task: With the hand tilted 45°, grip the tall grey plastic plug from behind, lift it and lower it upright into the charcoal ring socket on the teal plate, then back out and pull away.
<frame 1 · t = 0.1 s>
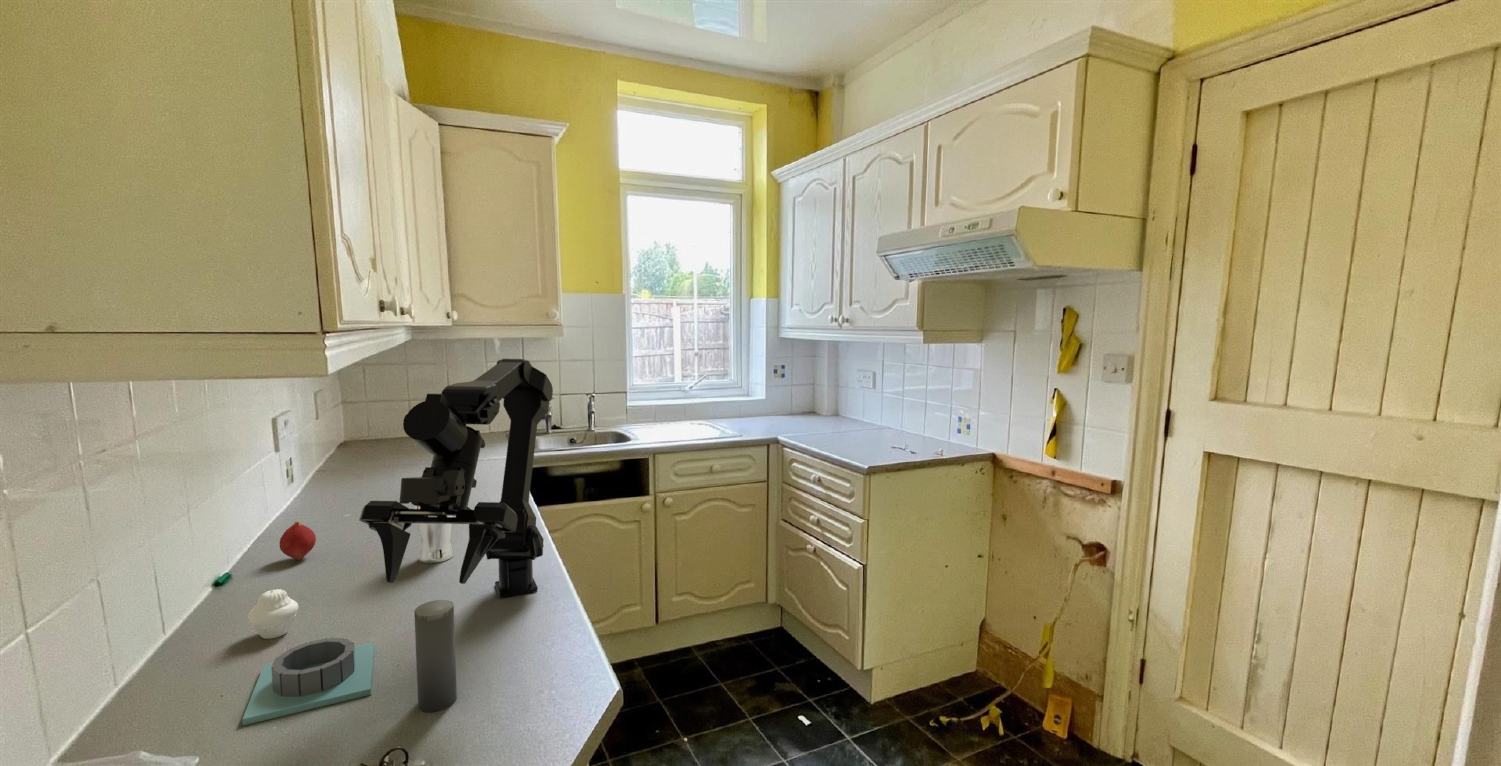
hand: (426, 582, 79), 15 cm above the table, tool tilted 35°, fingers open, 9 cm apart
beer glass: (436, 558, 124), on the table
onion: (298, 560, 122), on the table
plug: (437, 701, 78), on the table
socket: (315, 682, 82), on the table
muffin: (275, 634, 94), on the table
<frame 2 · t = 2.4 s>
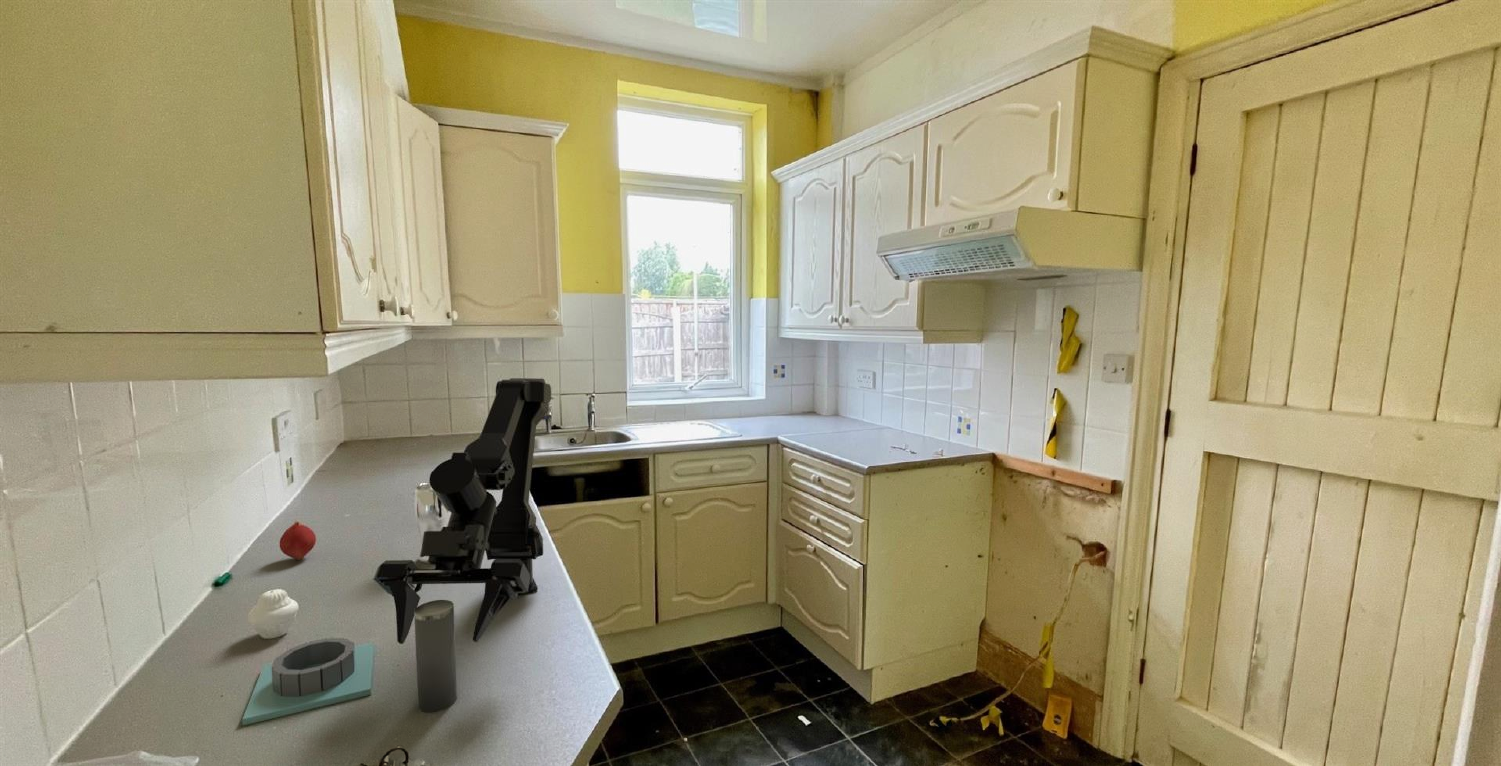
hand: (437, 641, 78), 8 cm above the table, tool tilted 45°, fingers open, 9 cm apart
nothing on the table moved.
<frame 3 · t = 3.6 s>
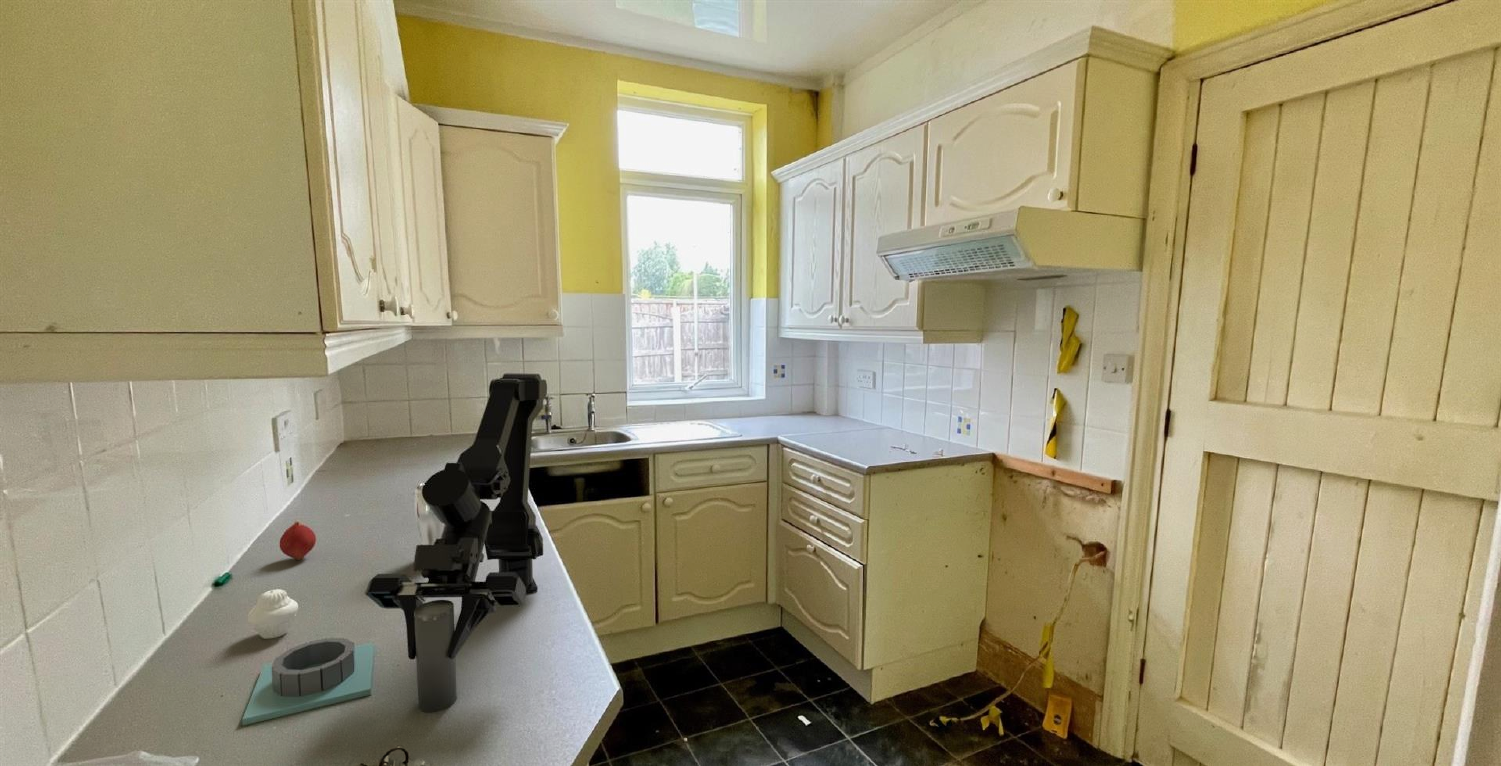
hand: (431, 658, 76), 7 cm above the table, tool tilted 45°, fingers closed on plug, 4 cm apart
plug: (437, 701, 78), on the table, touching gripper
everything else where it was.
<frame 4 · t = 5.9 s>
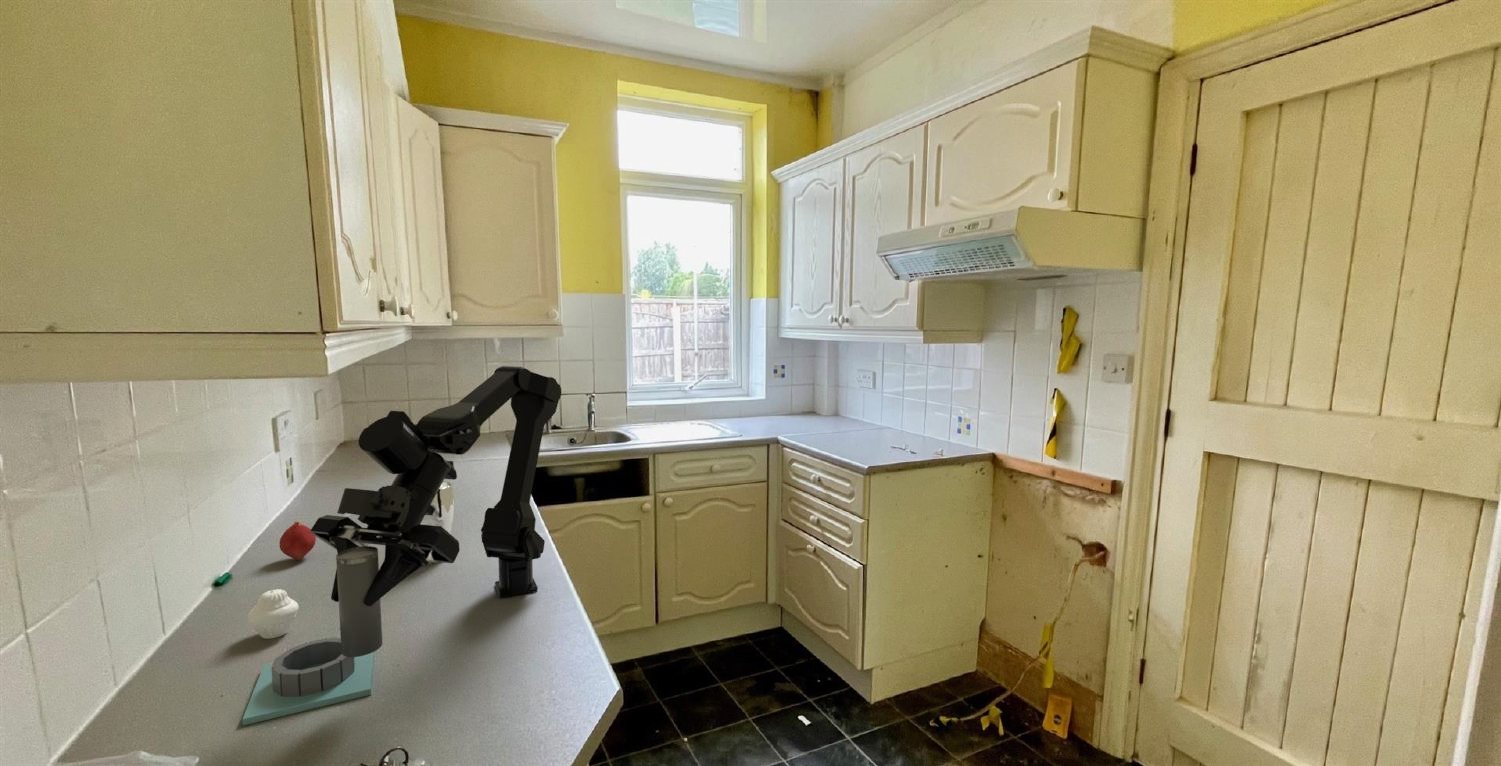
hand: (350, 602, 76), 13 cm above the table, tool tilted 45°, fingers closed on plug, 4 cm apart
plug: (362, 647, 78), point 7 cm above the table, touching gripper
everything else where it was.
when the fingers open (9 cm above the table, at t = 8.2 s): plug drops 1 cm, resting on socket.
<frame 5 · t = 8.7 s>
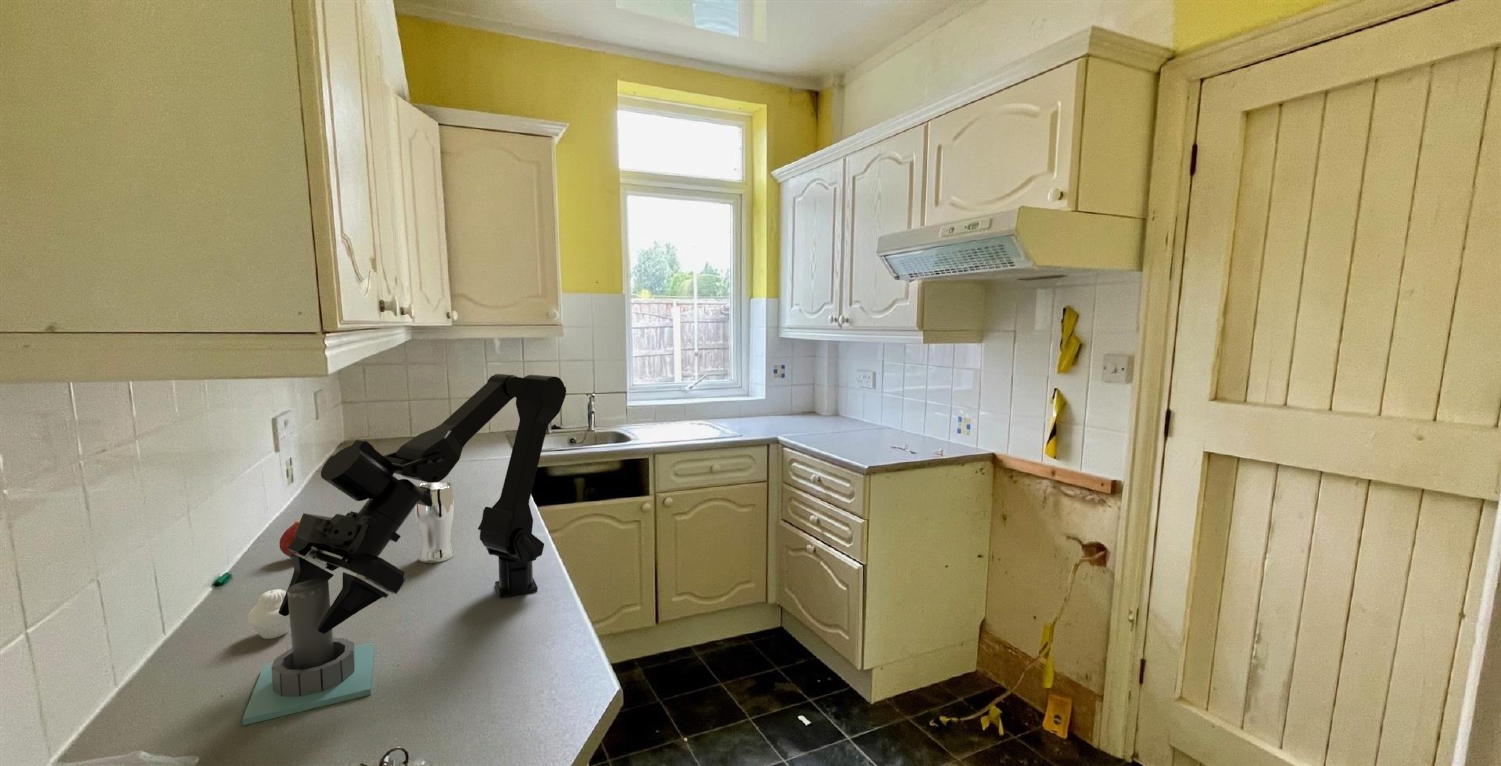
hand: (300, 623, 80), 9 cm above the table, tool tilted 45°, fingers open, 9 cm apart
plug: (315, 675, 82), point 1 cm above the table, touching socket
everything else where it was.
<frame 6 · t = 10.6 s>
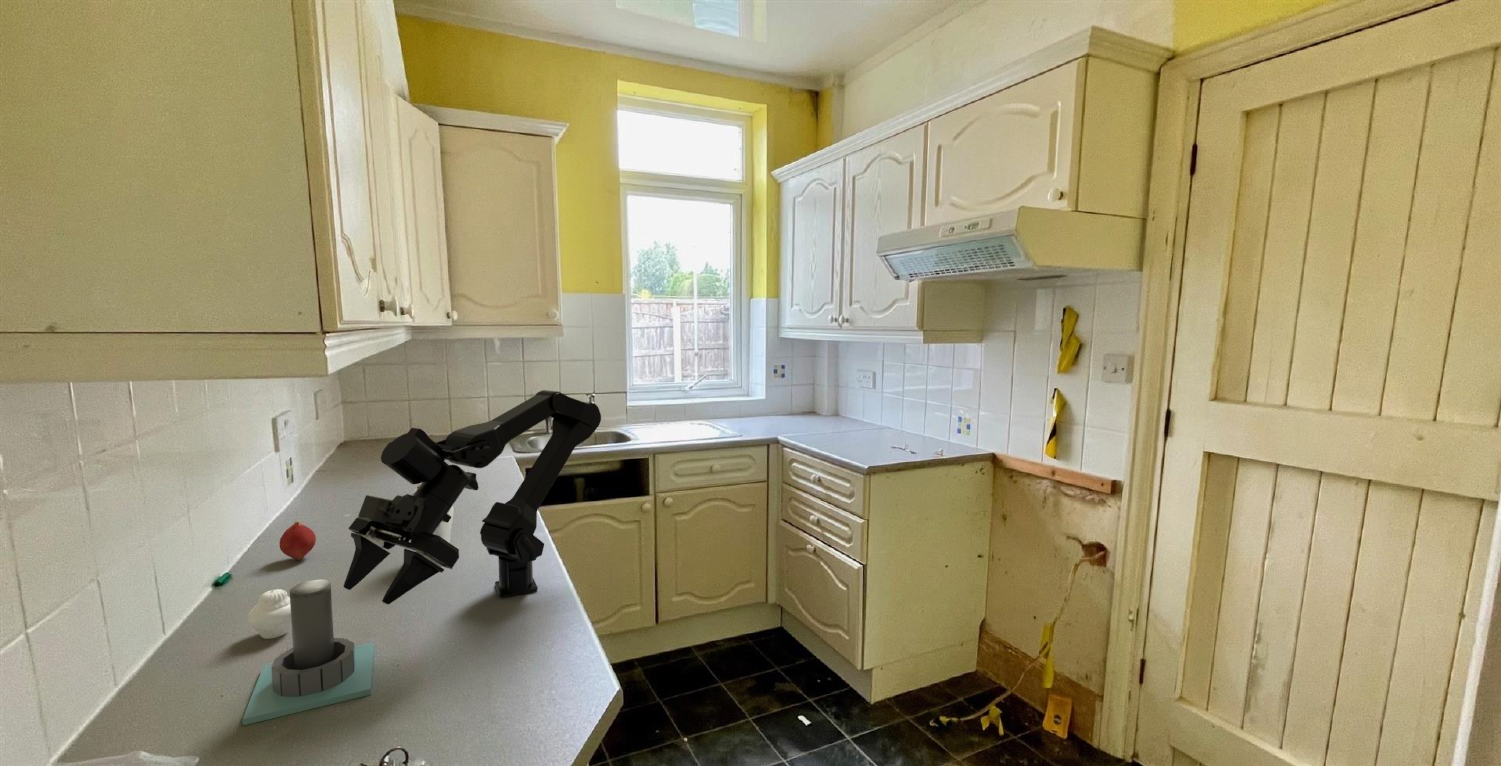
hand: (365, 595, 87), 9 cm above the table, tool tilted 45°, fingers open, 9 cm apart
nothing on the table moved.
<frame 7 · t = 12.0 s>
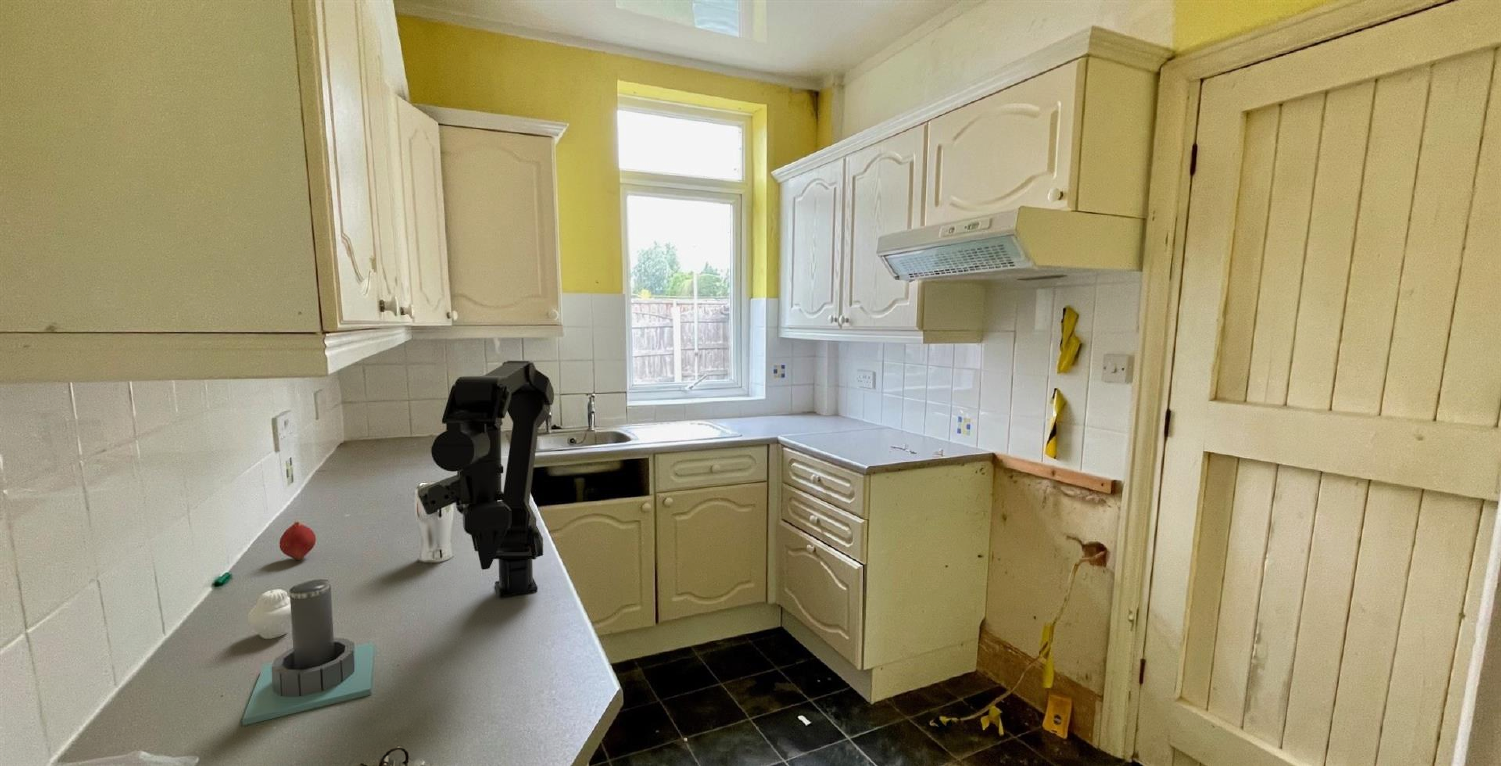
hand: (481, 559, 94), 12 cm above the table, tool pointing down, fingers open, 9 cm apart
nothing on the table moved.
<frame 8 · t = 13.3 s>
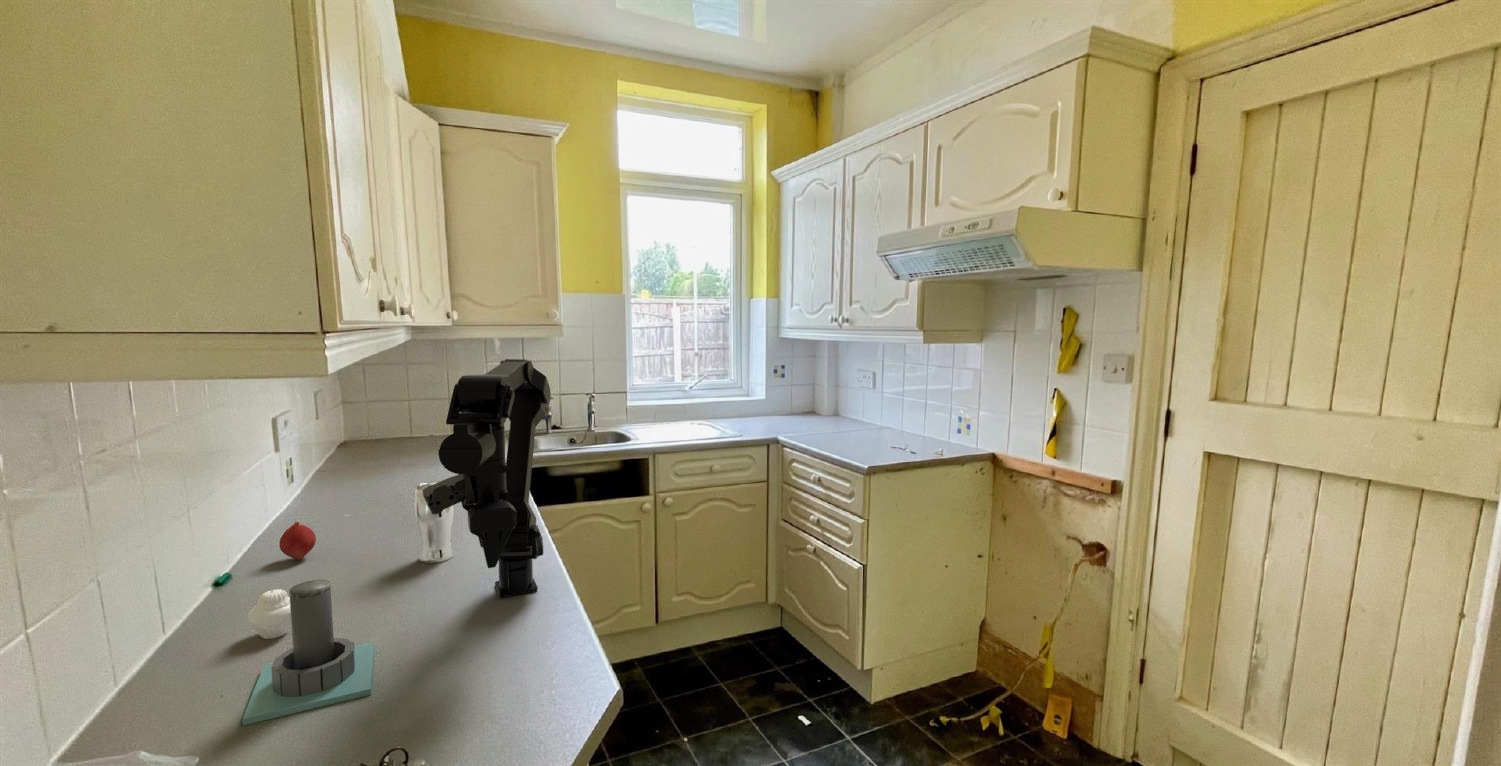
hand: (487, 556, 95), 12 cm above the table, tool pointing down, fingers open, 9 cm apart
nothing on the table moved.
at the end: plug 0.0 cm off-centre on the socket, point 0.8 cm above the socket's base; plug tilted 0°; the gripper is holding nothing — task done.
